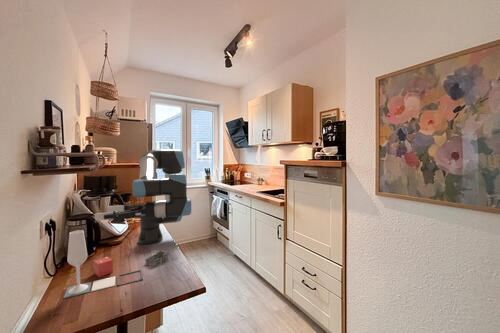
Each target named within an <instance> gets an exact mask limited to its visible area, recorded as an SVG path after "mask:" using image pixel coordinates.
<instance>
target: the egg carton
mask: <svg viewBox="0 0 500 333" xmlns="http://www.w3.org/2000/svg"><path fill="white" fill-rule="evenodd" d="M168 257H169V254H168V253H165V251H163V250H162V249H161V250H159V251H157V252H156V253H154V254H152V255H151V256H149V257H148V258H144V261H145V265H149V267H155V266H156V265H157V264H162V262H167V261H168V259H169V258H168Z"/></svg>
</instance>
